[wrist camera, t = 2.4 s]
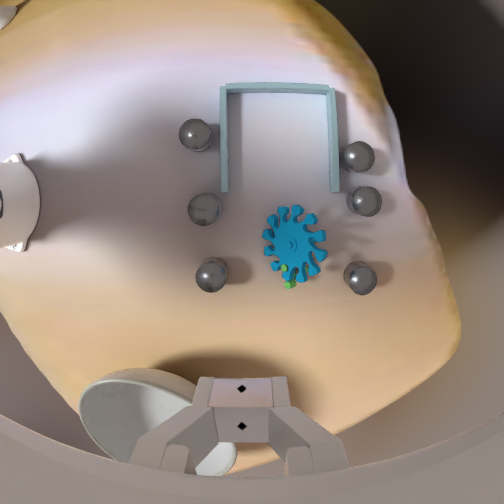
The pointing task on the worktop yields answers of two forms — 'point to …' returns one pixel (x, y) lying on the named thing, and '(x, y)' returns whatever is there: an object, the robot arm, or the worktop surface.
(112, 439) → the decorative bowl
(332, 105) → the light blue u-shaped piece
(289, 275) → the gear
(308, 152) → the worktop surface
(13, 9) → the flask
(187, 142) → the spacers
